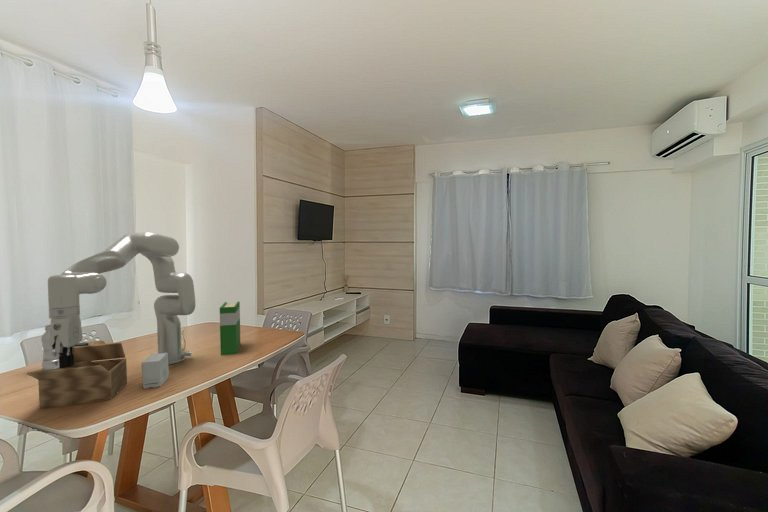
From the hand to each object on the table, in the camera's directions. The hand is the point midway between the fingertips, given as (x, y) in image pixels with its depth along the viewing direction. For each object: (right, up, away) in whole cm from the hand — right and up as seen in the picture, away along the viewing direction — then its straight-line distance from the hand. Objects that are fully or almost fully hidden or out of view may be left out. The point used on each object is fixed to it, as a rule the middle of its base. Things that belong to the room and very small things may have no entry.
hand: (66, 366), depth 114 cm
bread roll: (-39, -14, +57) cm, 70 cm away
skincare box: (+14, -14, +24) cm, 31 cm away
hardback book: (+25, -13, +67) cm, 73 cm away
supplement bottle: (-29, -14, +38) cm, 50 cm away
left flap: (-1, -2, +2) cm, 3 cm away
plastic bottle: (-43, -14, +39) cm, 60 cm away
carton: (-4, -15, +13) cm, 20 cm away
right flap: (-7, -1, +18) cm, 19 cm away
